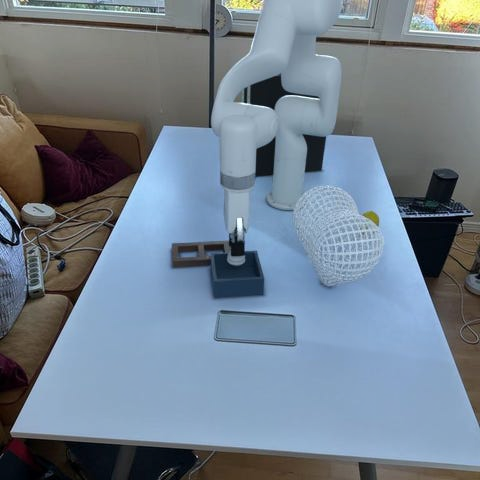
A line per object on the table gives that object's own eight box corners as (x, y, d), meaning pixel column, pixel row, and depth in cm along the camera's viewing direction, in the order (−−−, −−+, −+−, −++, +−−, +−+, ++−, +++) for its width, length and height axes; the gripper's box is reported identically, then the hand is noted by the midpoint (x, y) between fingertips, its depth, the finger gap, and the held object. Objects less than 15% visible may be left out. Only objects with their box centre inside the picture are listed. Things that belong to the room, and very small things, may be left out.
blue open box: (210, 269, 122) (210, 252, 118) (256, 266, 123) (256, 250, 120) (214, 298, 113) (213, 281, 110) (263, 295, 114) (264, 278, 111)
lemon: (375, 242, 133) (382, 217, 128) (356, 239, 134) (361, 214, 128) (375, 232, 137) (381, 207, 132) (356, 230, 138) (361, 205, 132)
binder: (310, 155, 177) (321, 62, 156) (322, 172, 167) (336, 74, 145) (240, 160, 173) (241, 65, 152) (248, 178, 162) (251, 77, 141)
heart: (280, 256, 127) (287, 178, 112) (333, 249, 130) (347, 173, 115) (317, 324, 107) (331, 240, 92) (379, 314, 110) (403, 232, 95)
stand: (172, 249, 128) (171, 243, 127) (228, 246, 130) (228, 240, 129) (172, 267, 122) (172, 261, 121) (232, 264, 124) (232, 258, 122)
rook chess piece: (247, 258, 115) (249, 229, 110) (241, 268, 112) (242, 239, 106) (230, 254, 116) (231, 226, 111) (224, 264, 113) (224, 235, 107)
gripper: (216, 162, 105) (218, 233, 118) (223, 196, 93) (224, 271, 105) (249, 161, 106) (247, 231, 118) (260, 195, 94) (257, 269, 106)
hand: (236, 250), depth 112 cm, fingers closed on rook chess piece, 3 cm apart
